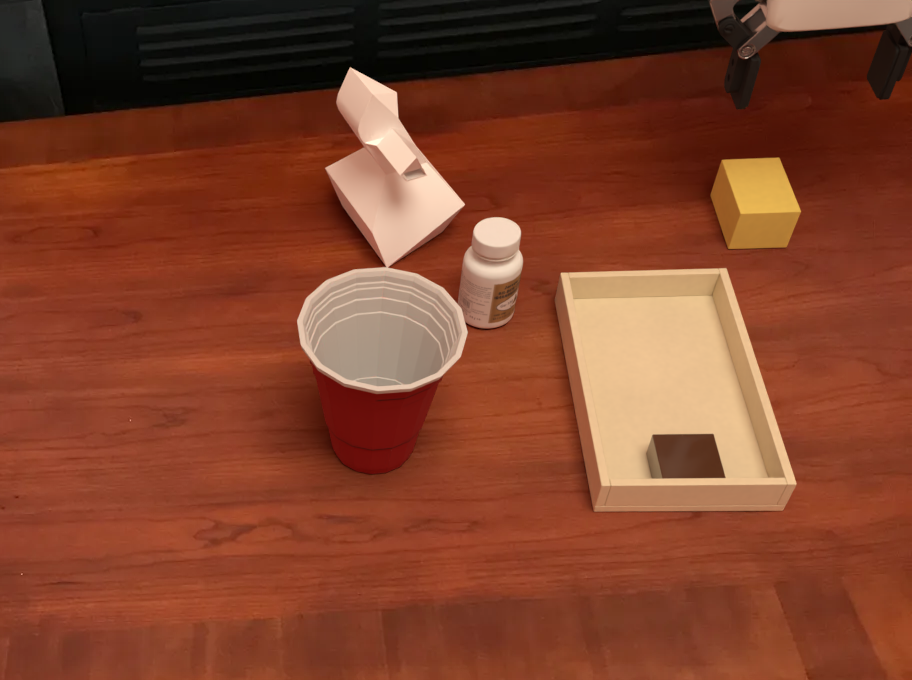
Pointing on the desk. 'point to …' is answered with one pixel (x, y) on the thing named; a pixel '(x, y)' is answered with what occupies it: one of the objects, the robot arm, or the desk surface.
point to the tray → (668, 389)
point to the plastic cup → (379, 359)
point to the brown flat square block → (684, 456)
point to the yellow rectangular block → (754, 203)
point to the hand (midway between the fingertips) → (806, 94)
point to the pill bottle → (491, 273)
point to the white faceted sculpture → (388, 175)
